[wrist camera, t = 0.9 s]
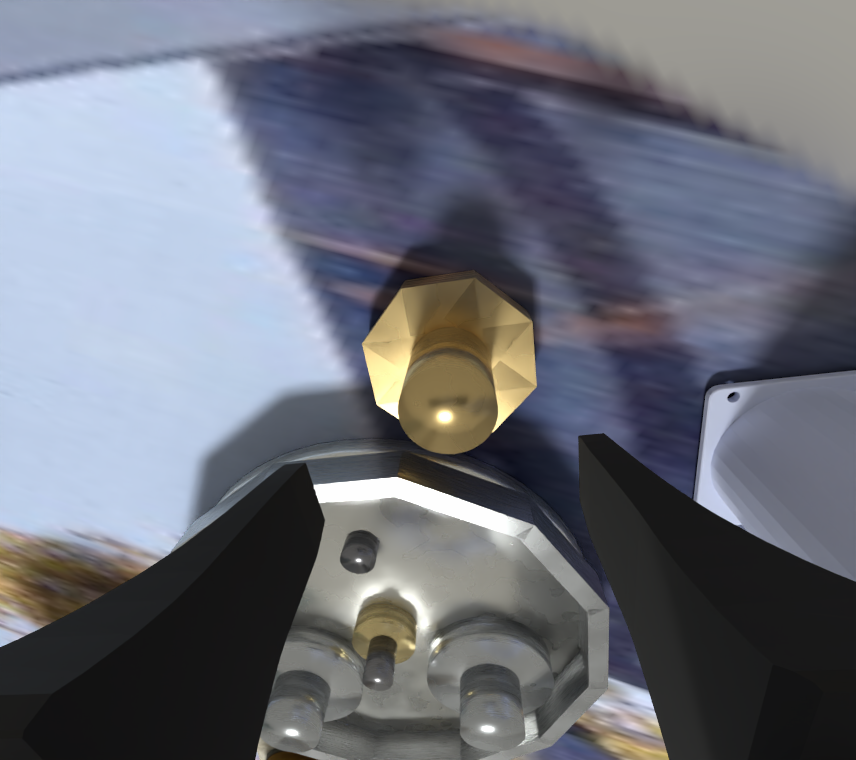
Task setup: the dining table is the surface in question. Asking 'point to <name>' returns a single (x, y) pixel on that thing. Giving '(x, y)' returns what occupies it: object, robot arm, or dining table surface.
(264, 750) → the condiment
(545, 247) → the dining table surface
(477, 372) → the brass octagonal knob
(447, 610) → the tray
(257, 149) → the dining table surface
